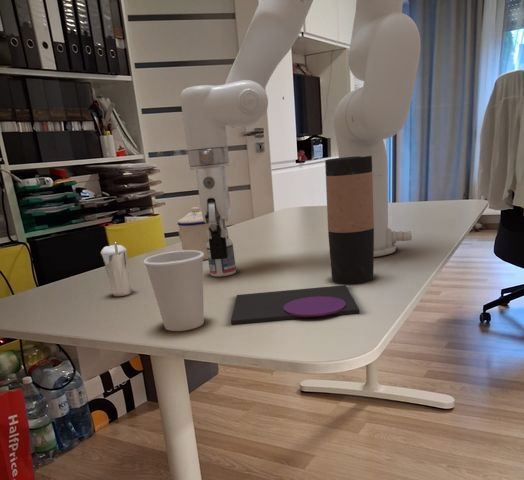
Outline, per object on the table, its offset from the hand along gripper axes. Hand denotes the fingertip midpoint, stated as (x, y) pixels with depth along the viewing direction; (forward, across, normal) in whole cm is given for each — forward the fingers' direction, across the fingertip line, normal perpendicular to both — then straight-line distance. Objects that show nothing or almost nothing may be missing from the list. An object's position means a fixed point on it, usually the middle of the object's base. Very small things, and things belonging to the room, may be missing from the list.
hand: (220, 254), depth 104 cm
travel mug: (+4, -14, -24) cm, 28 cm away
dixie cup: (+4, -32, +3) cm, 32 cm away
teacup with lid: (+4, +22, +8) cm, 24 cm away
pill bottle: (+4, 0, 0) cm, 4 cm away
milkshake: (+4, -10, +18) cm, 21 cm away
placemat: (+4, -27, -13) cm, 30 cm away
